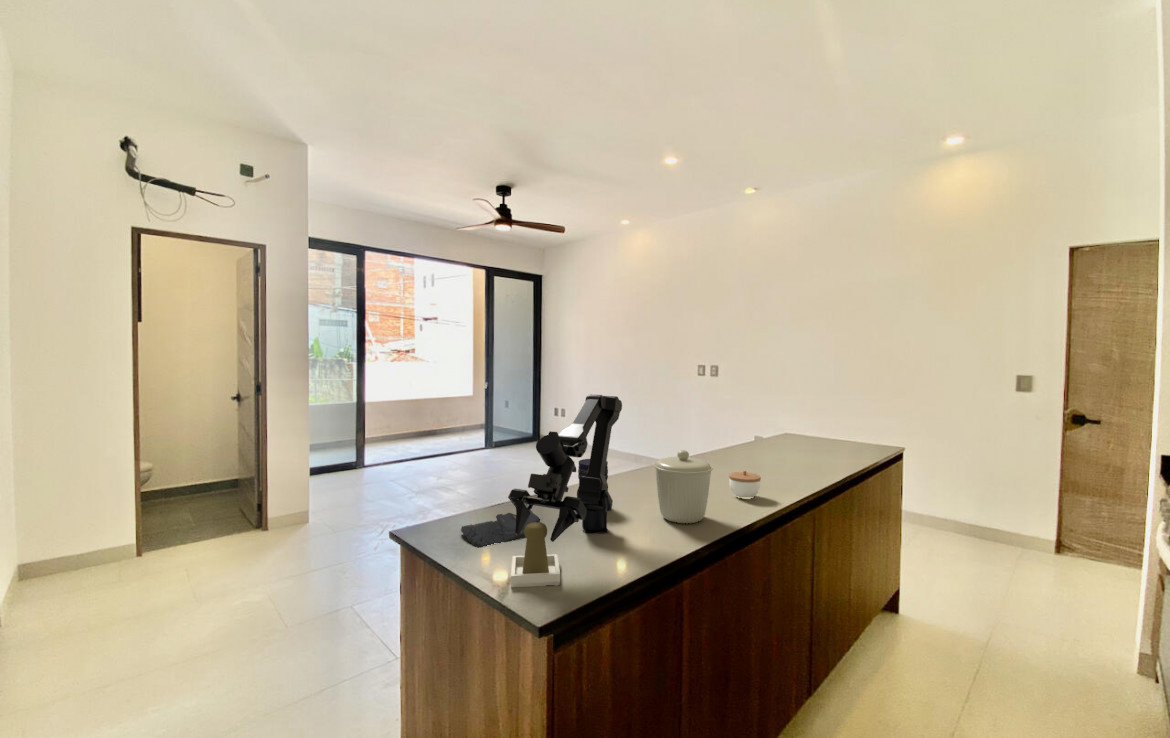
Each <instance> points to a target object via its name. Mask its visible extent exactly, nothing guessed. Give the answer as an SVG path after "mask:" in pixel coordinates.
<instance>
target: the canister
mask: <svg viewBox="0 0 1170 738" xmlns="http://www.w3.org/2000/svg"><path fill="white" fill-rule="evenodd" d="M652 465H653V467H654V469H655V477H656V479H655V480H656V489H657V490H656V491H657V497H658V498H657V499H658V506H659V511H660V513H661V516H662V517H663V518H664V519H665V520H667V521H669V522H671V523H676V522H677V524H685V523H686V524H688V523H689V524H694V523H698V521H699V522H700V521H702V520H703V519H704V517H705V515H706V512H707V511H706V510H707V506H708V499H709V491H710V482H711V477H712V476H711V474H712V471H713V470H714V466H713V464H710V463H709V462H708V461H707V460H704V459H701V458H697V457H690V453H689V451H687V450H685V449H684V450H683V449H680V450H679V451H678V452H677V456H667V457H663V458H660V459H658V460H657V461H655V462H653V464H652Z"/></svg>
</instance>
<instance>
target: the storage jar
mask: <svg viewBox="0 0 1170 738" xmlns="http://www.w3.org/2000/svg"><path fill="white" fill-rule="evenodd" d="M589 462H590V458H584V459H580V460H578V469H577V470H578V471H577V473H578V475H577V477H578V483H579V482H580V478H581V477H582V476H583V477H584V476H585V475H586V473H587V472H588V468H589ZM608 465H609V464H608V460H607V461H606V467H605V473H604V476H605V479H606V481H607V482H608V477H609V469H608V467H609V466H608Z"/></svg>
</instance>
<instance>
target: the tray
mask: <svg viewBox="0 0 1170 738" xmlns="http://www.w3.org/2000/svg"><path fill="white" fill-rule="evenodd" d="M524 556H525V555H512V556H511V557H512V559H511V568H510V569H511V571H510V588H529V587H547V586H546V585H555V586H561V571H560V564H559V555H558V554H556V553H554V554H553V553H552V554H547V560H548V568H549V573H532V574H523V573H522V572H523V564H524Z"/></svg>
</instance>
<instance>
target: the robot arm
mask: <svg viewBox="0 0 1170 738" xmlns="http://www.w3.org/2000/svg"><path fill="white" fill-rule="evenodd" d="M622 409H623V402H622V401H621V400H620V399H619V397H618V396H617V395H616V396H615V395H614V396H613V395H603V394H592V393H590V394H587V396H586V397H585V402H584V403H583V405H582V407H581V408H580V410H579V411H578V414H577V415H576V417H575V418H574V421H572V423H571V425H570V426H568V427H566V428H564V429H562V430H561V431H560V433H558V431H549V432H548V434H547V435H544V436H542V437H541V438H539V440H537V441H536V443H535V449H536V451H537V453H538V454H539V456H540V458H541V459H542V461H543V463H544V464H545V466H547V467H549V468H548V469H547V473H543V474H538V473H530V474H529V475H530V476H529V481H528V485H527V488H528V489H530V488H531V489H533V493H534V495H537V496H532V495H531V494H530V493H529V491H528V490H527V489H522V488H521V489H520V488H513V489H511V490H510V491H509V494H508V495H507V496H508V497H507V498H508V500H509V501H510V502H511V503H512V505H513V506H514V507H515V515H516V529H515V533H516V535H519V533H520V532H521V530H522V529H523V527H524V525H525V523H526V521H527V519H528V517H529V515H530V514H531V512H530V511H529V510H532V508H533V506H535V507H536V506H537V507H541V508H548V509H553V510H559V512H558V513H559V514H558V518H557V520H556V522H555V525H554V527H553V530H552V533H551V535H550V539H549V540H550V542H552V543H554V542H555V541H556V540H557V539H558V538H559V537H560V536H561V535H562V534H563V533H564V532H565V531H566V530H567V529H568V528H571V526H572V525H573V524H575V523H579V522H580V521H581V527H582V529H583V530H584V533H585V534H599V533H603V534H605V533H609V530H608V524H607V523H608V512H611V511H612V507H613V498H612V496H611V495H610V492H609V484H608V480H607V481H606V479H605V476H604V473H605V467H606V461H607V462H608V460H607V459H608V454H609V447H610V441H611V434H612V427H613V426H614V425H615V424H616V422H617V421H618V420H619V418H620V415H621V414H620V413H621V412H622ZM594 423H595V427H594V432H593V433H594V434H593V438H592V445H591V451H590V455H589V456H590V458H589V459H590V462H589V468H588V472H587V473H586V475H585V476H584V477H583V476H582V477H581V478H580V482H579V481H578V488H577V490H576V497H575V496H569V495H566V496H564V495H565V493H568V491H569V489H570V488H569V487H568V484H569V481H570V478H571V476H572V473H577V467H576V464H575V460H573V458H582V457H583V456H584V454H585V453H586V451H587V447H588V445H589V444H588V439H587V437H588V434H589V433H590V431H591V429H592V428H593V426H594ZM563 497H564V498H563ZM579 520H580V521H579Z"/></svg>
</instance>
